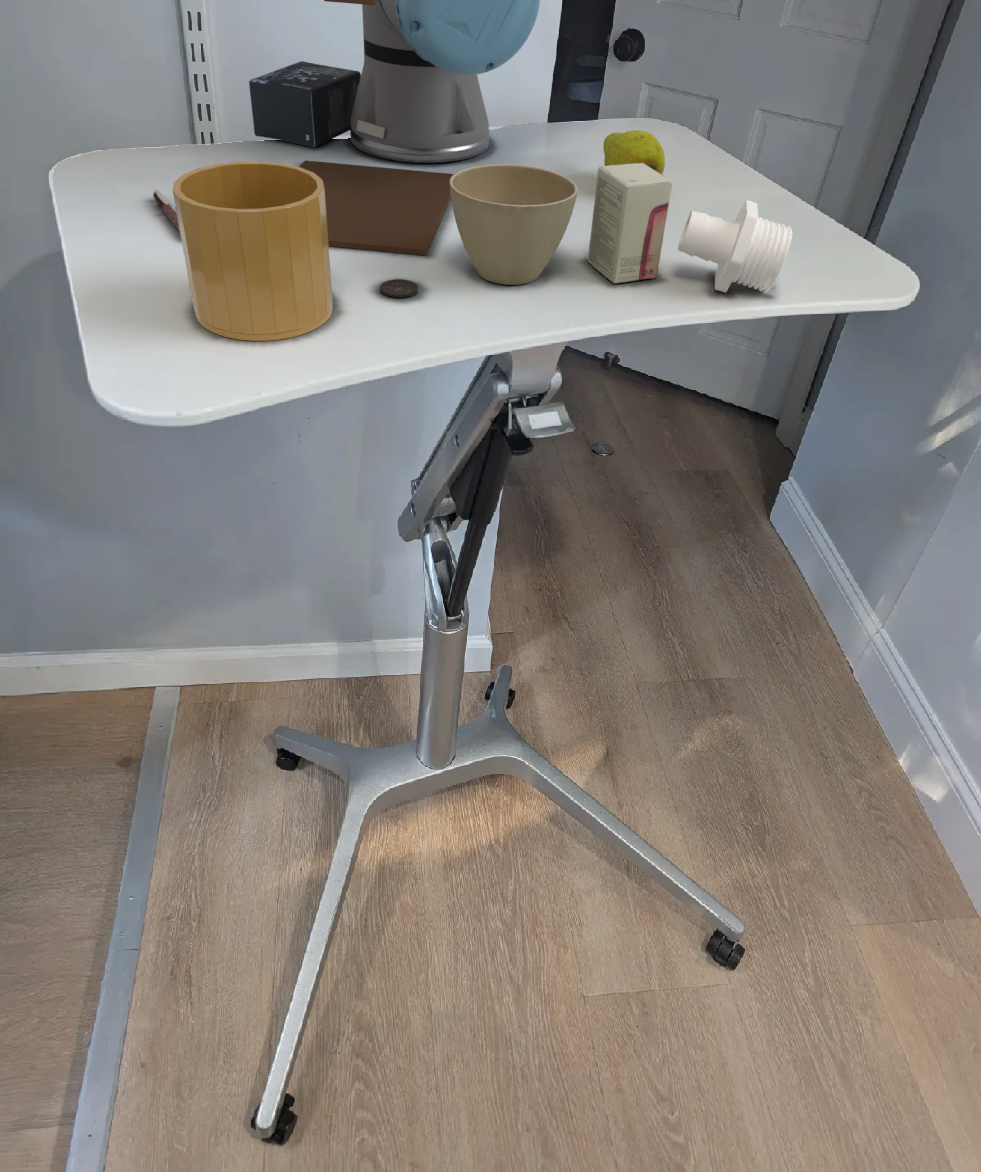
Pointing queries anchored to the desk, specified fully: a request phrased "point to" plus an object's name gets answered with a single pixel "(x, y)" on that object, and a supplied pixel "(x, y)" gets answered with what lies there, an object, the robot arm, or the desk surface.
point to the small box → (628, 221)
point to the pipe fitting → (738, 247)
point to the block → (356, 1)
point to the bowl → (511, 218)
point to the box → (304, 103)
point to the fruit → (634, 150)
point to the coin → (399, 288)
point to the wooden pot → (255, 249)
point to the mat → (382, 206)
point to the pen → (166, 207)
